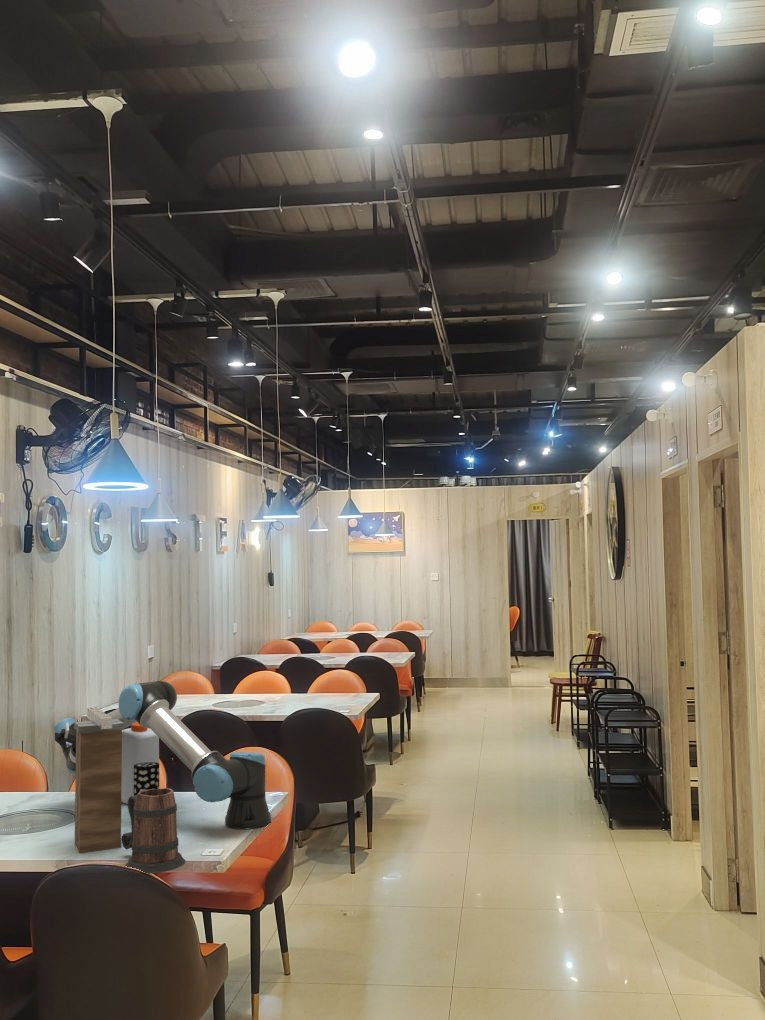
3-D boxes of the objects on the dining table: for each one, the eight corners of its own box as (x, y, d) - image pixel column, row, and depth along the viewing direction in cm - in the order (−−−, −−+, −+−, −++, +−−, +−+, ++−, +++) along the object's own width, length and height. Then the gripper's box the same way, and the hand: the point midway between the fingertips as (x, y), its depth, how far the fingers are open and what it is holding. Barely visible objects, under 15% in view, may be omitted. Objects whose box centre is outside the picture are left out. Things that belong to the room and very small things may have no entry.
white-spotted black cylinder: (151, 821, 289) (151, 761, 291) (163, 825, 283) (164, 764, 285) (128, 826, 283) (129, 765, 285) (141, 831, 277) (141, 768, 279)
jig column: (72, 843, 265) (74, 721, 269) (115, 837, 270) (116, 718, 274) (77, 853, 253) (79, 726, 257) (122, 847, 259) (123, 723, 263)
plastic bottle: (163, 797, 323) (168, 724, 323) (129, 807, 311) (135, 731, 311) (138, 786, 332) (143, 715, 332) (105, 795, 321) (110, 722, 320)
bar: (87, 717, 279) (87, 708, 280) (96, 716, 281) (96, 707, 281) (101, 729, 251) (101, 718, 251) (112, 728, 252) (112, 718, 252)
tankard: (197, 862, 242) (197, 789, 244) (147, 877, 229) (147, 801, 231) (148, 848, 257) (149, 780, 259) (98, 862, 244) (99, 790, 246)
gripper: (119, 756, 302) (128, 732, 287) (44, 763, 291) (49, 739, 276) (117, 736, 306) (126, 711, 291) (43, 742, 295) (48, 717, 280)
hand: (89, 724), depth 284 cm, fingers open, 13 cm apart
